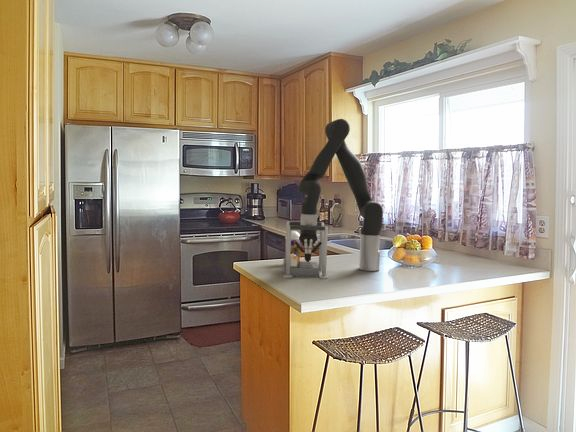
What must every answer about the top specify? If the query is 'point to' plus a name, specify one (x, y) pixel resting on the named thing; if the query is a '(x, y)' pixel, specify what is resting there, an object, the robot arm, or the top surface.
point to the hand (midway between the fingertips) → (307, 261)
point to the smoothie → (294, 248)
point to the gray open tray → (302, 269)
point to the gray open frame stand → (322, 247)
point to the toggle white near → (293, 262)
